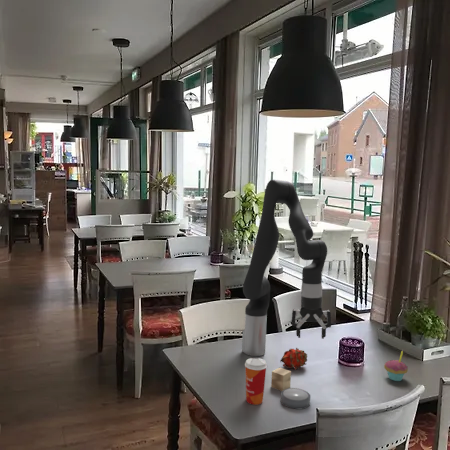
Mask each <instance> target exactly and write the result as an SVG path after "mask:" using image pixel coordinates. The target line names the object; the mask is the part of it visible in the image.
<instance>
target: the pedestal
mask: <svg viewBox="0 0 450 450" xmlns="http://www.w3.org/2000/svg"><path fill="white" fill-rule="evenodd" d="M280 404H282V405H283V406H284V407H287V408H289V407H290V408H289V409H294V408H302V409H306V408H308V407H309V406H310V404H311V394H310V393H309V392H308V391H306V390H304V389H301V388H297V387H289V388H288V389H285V390H283V391H280ZM305 407H306V408H305Z"/></svg>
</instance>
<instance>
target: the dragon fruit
mask: <svg viewBox="0 0 450 450" xmlns="http://www.w3.org/2000/svg"><path fill="white" fill-rule="evenodd" d="M307 358H308V353H306V352H305V350H303V349H299V348H298V347H295V349H294V348H289V350H286V351H285V352H284V353H283V355H282V358H281V359H280V363H283V364H282V366H283V367H284V368H288V369H292V368H294V370H295V371H296V370H297V369H301V368H302V367H304V366H306V365H307V361H308V359H307Z"/></svg>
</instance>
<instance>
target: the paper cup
mask: <svg viewBox="0 0 450 450" xmlns="http://www.w3.org/2000/svg"><path fill="white" fill-rule="evenodd" d="M267 367H268V364H267V362H266V360H265V359H264V358H263V359H262V358H261V357H258V358H257V357H253V358H252V357H250V358H248V359H246V360H245V362H244V368H245V399H246V400H245V401H246V402H247V403H248V404H250V405H255V406H257V405H260V404H262V403H263V400H264V393H265V382H266V372H267Z"/></svg>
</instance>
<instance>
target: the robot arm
mask: <svg viewBox="0 0 450 450" xmlns="http://www.w3.org/2000/svg"><path fill="white" fill-rule="evenodd" d="M277 204H284V205H286V207H287V208H288V209H289V215H288V216H289V217H288V227H289V229H290V231H291V233H292V235H293V236H294V239H295V244H296V250H297V255H298V257H299V258H300V259H302V260H303V261H311V263H309V264H308V265H305V266H303V268H302V274H301V275H302V276H301V277H302V278H301V280H302V281H301V288H300V289H301V292H300V297H301V298H300V309H296V308H292V311H291V312H292V313H291V327H295V330H296V333H295V334H296V335H295V336H297V338H298V339H300V338H301V327H302V325H303V324H304V323H305V322H306V323H318V324H319V325H320V326H321V339H323V340H324V338H325V337H326V336H327V335H326V333H327V332H326V331H327V329H328V328H331V327H332V317H331V316H332V315H331V314H332V313H331V311H330V309H326V310H323V285H322V283H323V281H322V280H323V279H322V278H323V270H324V265H325V262H326V259H327V256H328V246H327V243H326V242H325V241H324V240H320V239H316V240H315V239H313V240H311V239H312V238H313V237H314V230H313V228H312V227H311V225H310V222H309V221H308V219H307V218H306V216H305V214H304V211H303V208H302V204H301V202H300V199H299V196H298V194H297V190H296V188H295V186H294V184H293V183H292V182H291V181H288V180H287V181H286V180H280V179H270V180H269V181H268V182H267V185H266V186H265V191H264V196H263V204H262V208H261V209H262V211H261V215H260V221H259V224H258V225H259V226H258V229H257V233H256V237H255V240H254V246H253V250H252V255H251V259H250V264H249V266H248V270H247V271H246V272H247V273H246V275H245V279H244V280H243V283H242V285H243V286H242V292H243V296H245V298H246V299H248V300H249V302H248V303H247V305H246V306H245V313H244V314H245V315H244V328H243V330H242V339H241V340H242V341H241V342H242V344H241V352H243V353H244V354H245V355H247V356H250V357H251V356H252V357H261V356H263V355H265V354H266V347H267V346H266V342H267V318H268V317H267V316H268V309H269V307H270V298H271V285H270V284H271V283H270V281H269V280H268V277H266V276H265V273H266V270H267V267H268V266H269V264H270V263H271V261H272V259H273V257H274V256H275V253H276V251H277V248H278V244H279V239H280V231H279V227H278V224H277V222H276V219H275V218H276V217H275V211H276V205H277ZM298 315H300V316H301V317H300V319H299V320H298V321H297V322H296V317H298ZM323 315H324V316H325V318H326V323H324V321H323V320H322V316H323Z"/></svg>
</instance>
